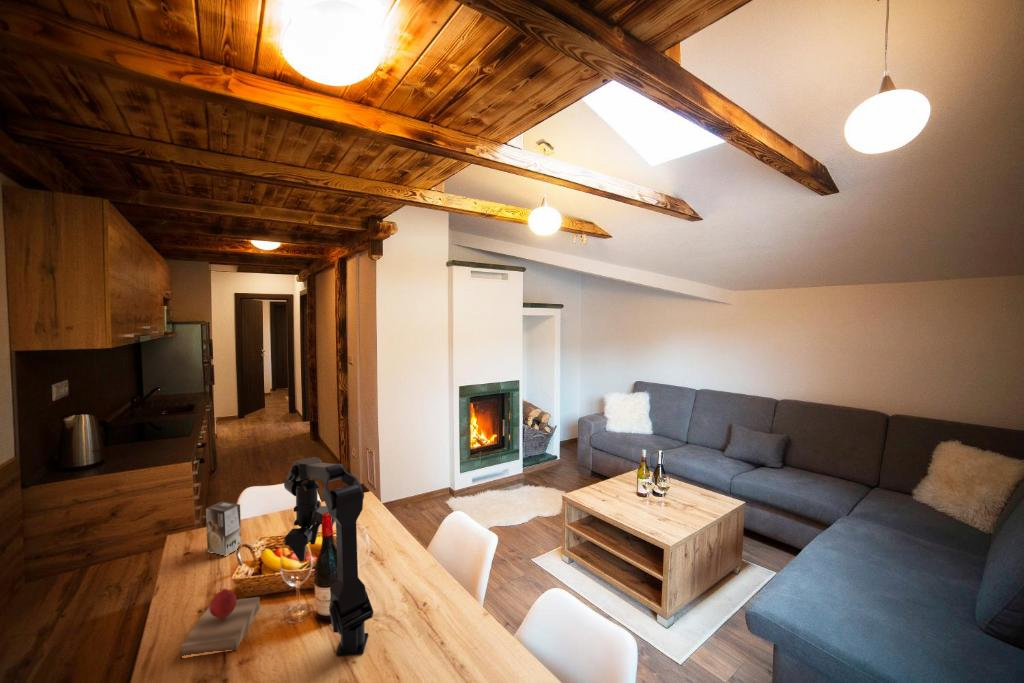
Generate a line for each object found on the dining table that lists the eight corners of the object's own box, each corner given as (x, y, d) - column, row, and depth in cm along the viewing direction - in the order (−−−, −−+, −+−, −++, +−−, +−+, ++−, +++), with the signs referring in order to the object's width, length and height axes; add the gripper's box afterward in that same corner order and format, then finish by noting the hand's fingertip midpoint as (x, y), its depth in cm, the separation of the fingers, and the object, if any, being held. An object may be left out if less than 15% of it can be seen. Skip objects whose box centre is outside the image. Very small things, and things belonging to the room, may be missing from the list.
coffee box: (242, 547, 152) (241, 504, 151) (225, 557, 146) (224, 511, 145) (223, 543, 154) (222, 500, 154) (206, 552, 148) (204, 508, 147)
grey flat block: (236, 653, 105) (236, 638, 104) (180, 661, 102) (180, 646, 102) (259, 610, 120) (259, 596, 120) (211, 616, 118) (211, 602, 117)
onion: (230, 610, 115) (230, 580, 115) (240, 616, 112) (240, 584, 112) (205, 622, 110) (205, 589, 111) (216, 627, 107) (215, 594, 107)
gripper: (325, 513, 116) (326, 568, 117) (343, 487, 135) (344, 535, 136) (282, 515, 115) (283, 571, 116) (307, 488, 133) (307, 537, 134)
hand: (307, 552), depth 125 cm, fingers open, 9 cm apart
